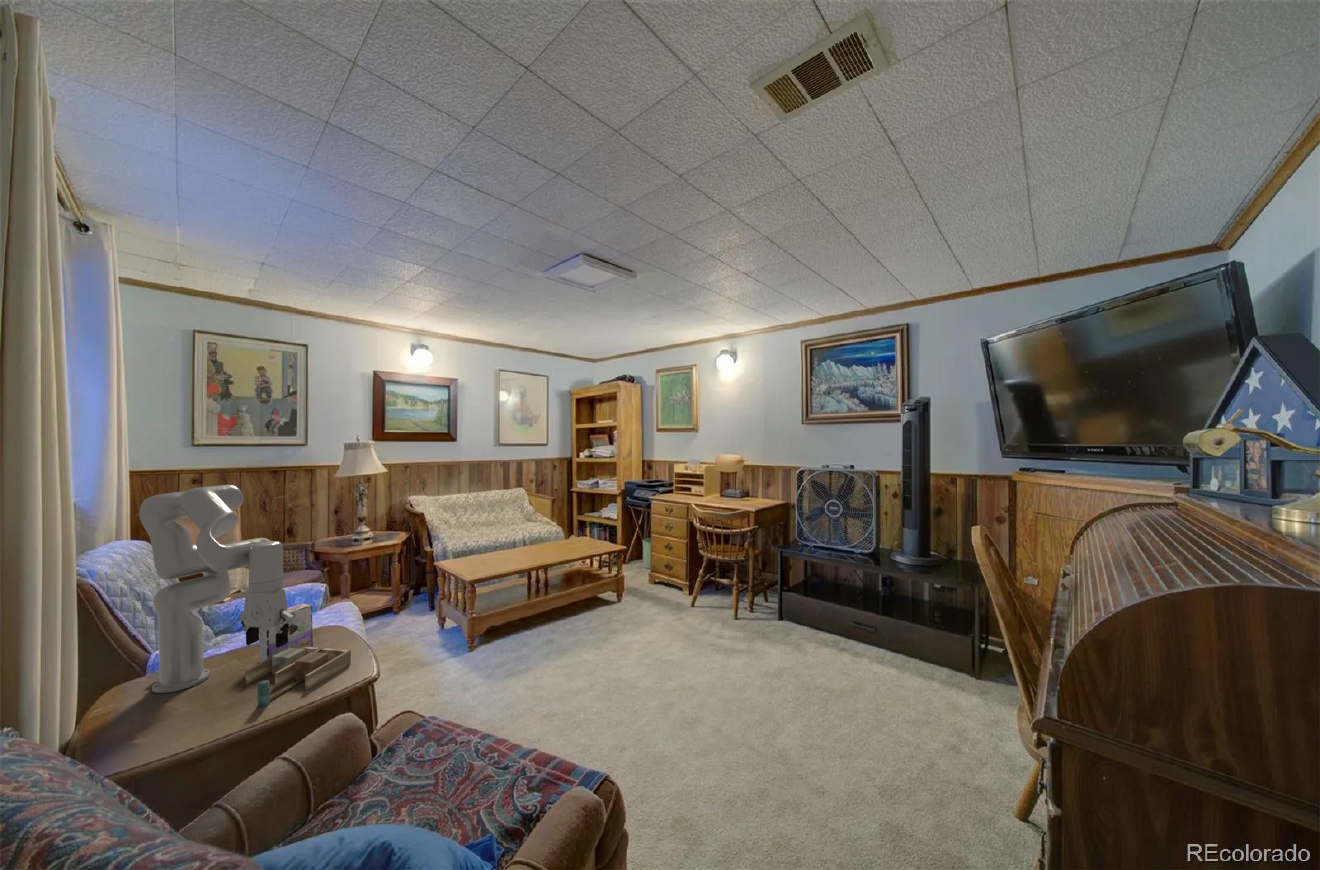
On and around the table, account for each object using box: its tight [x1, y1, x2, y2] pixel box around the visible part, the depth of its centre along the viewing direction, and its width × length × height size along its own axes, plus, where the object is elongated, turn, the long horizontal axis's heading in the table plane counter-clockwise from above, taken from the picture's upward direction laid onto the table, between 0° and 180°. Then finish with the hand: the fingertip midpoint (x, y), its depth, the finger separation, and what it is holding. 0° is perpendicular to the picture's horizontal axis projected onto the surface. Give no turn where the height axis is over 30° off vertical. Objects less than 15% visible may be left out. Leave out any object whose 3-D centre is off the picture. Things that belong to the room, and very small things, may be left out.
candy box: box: [258, 602, 314, 663], centre depth 159 cm, size 14×6×16 cm, turn 154°
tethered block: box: [257, 652, 328, 709], centre depth 139 cm, size 6×20×7 cm, turn 172°
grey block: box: [271, 648, 305, 675], centre depth 149 cm, size 6×6×6 cm
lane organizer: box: [244, 646, 352, 690], centre depth 148 cm, size 22×16×5 cm
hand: (267, 644), depth 131 cm, fingers open, 9 cm apart
